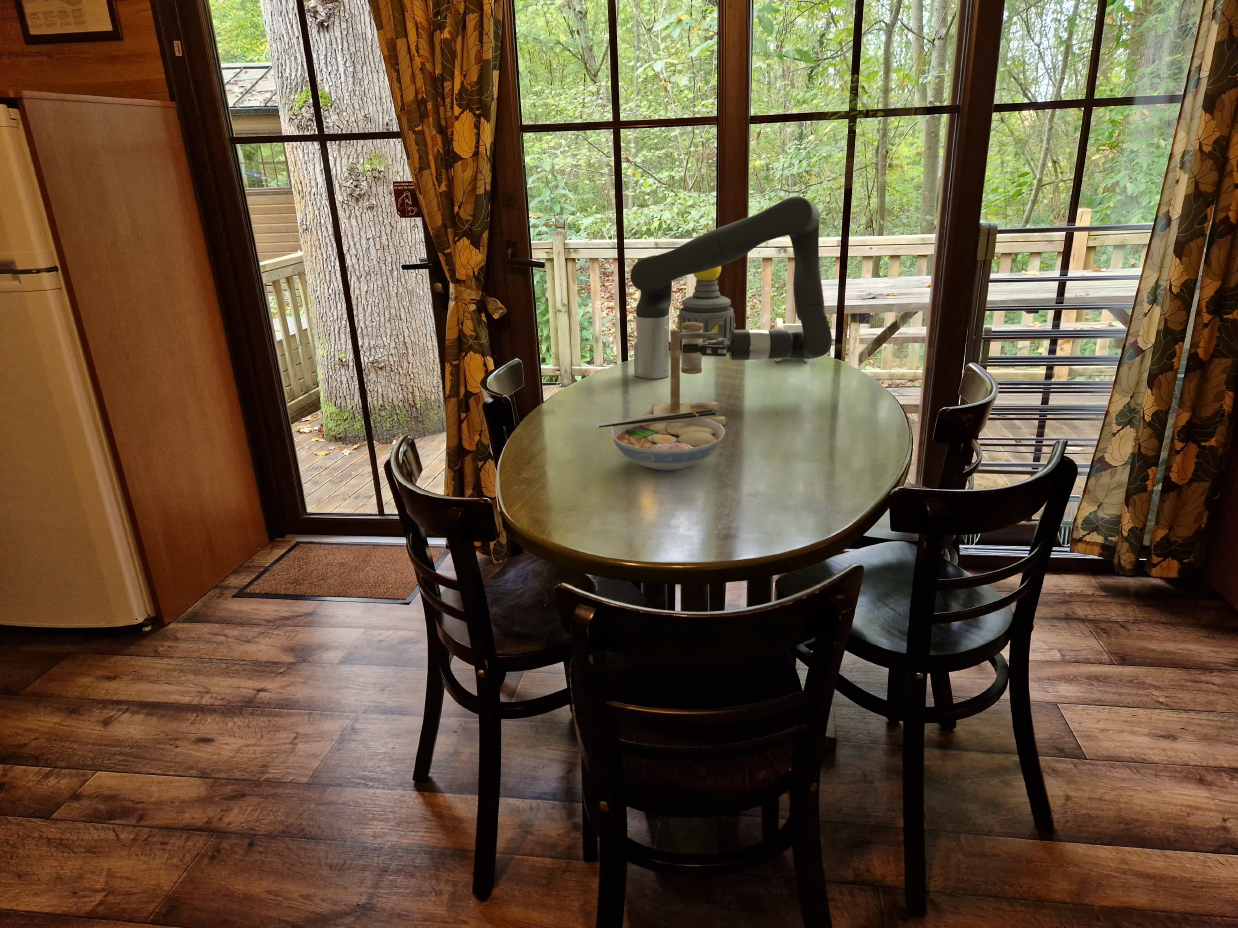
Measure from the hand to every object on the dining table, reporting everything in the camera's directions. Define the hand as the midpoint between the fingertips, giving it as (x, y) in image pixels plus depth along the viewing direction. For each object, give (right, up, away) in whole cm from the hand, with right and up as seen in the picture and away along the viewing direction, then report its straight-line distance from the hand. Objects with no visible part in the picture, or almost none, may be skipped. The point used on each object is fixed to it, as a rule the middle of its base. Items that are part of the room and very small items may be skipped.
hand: (681, 346), depth 196 cm
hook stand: (+1, -18, -8) cm, 20 cm away
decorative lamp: (+13, +9, +63) cm, 65 cm away
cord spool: (+3, -6, +2) cm, 7 cm away
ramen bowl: (-6, -30, -38) cm, 48 cm away
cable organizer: (+37, +3, +46) cm, 59 cm away
